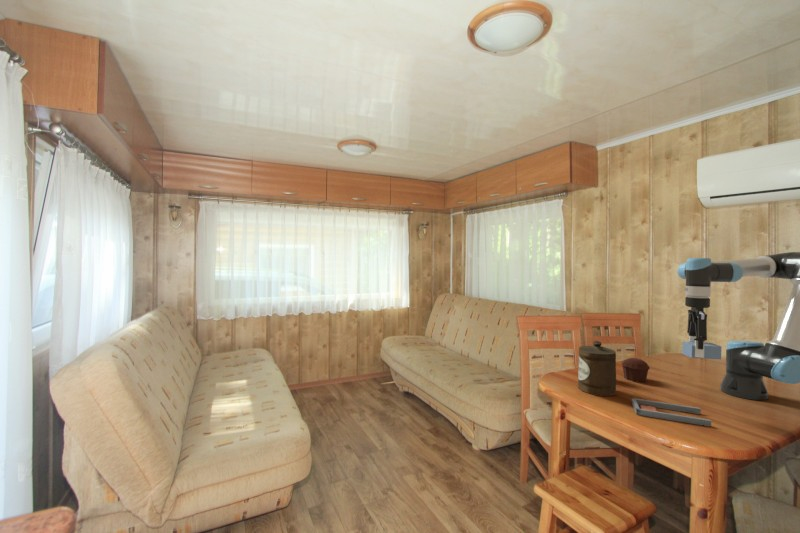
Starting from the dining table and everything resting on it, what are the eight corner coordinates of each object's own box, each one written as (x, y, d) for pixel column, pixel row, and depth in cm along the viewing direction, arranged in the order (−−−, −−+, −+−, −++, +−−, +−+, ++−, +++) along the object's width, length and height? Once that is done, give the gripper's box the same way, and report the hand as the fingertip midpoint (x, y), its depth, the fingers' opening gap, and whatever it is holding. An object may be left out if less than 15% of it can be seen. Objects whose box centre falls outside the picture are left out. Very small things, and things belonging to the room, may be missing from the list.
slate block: (710, 355, 143) (710, 342, 143) (721, 359, 137) (721, 346, 137) (682, 353, 145) (682, 341, 145) (691, 358, 139) (692, 345, 139)
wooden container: (576, 382, 170) (577, 336, 169) (612, 386, 164) (613, 339, 164) (579, 393, 156) (580, 343, 156) (618, 398, 150) (619, 346, 150)
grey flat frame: (699, 413, 137) (699, 407, 136) (710, 426, 125) (711, 421, 125) (631, 402, 146) (631, 397, 146) (636, 414, 135) (636, 409, 135)
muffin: (642, 376, 179) (643, 356, 179) (654, 383, 168) (654, 362, 168) (616, 374, 181) (617, 355, 181) (626, 382, 170) (627, 361, 170)
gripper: (678, 294, 151) (677, 348, 152) (693, 298, 133) (691, 360, 134) (701, 295, 148) (699, 350, 149) (719, 300, 130) (717, 362, 131)
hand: (696, 354), depth 141 cm, fingers closed on slate block, 7 cm apart
